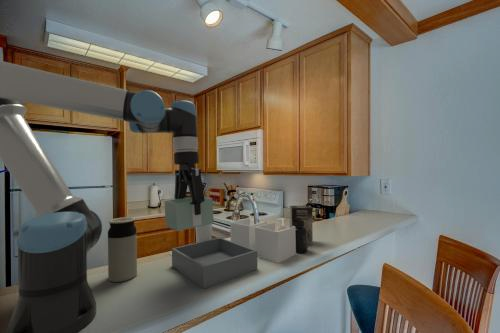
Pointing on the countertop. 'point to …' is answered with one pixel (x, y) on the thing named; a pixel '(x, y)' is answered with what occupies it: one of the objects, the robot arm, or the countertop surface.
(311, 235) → the coffee box
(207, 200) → the box
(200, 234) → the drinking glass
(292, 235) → the white cubby shelf
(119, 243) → the travel mug
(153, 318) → the countertop surface
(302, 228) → the supplement bottle
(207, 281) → the big crate
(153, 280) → the countertop surface
